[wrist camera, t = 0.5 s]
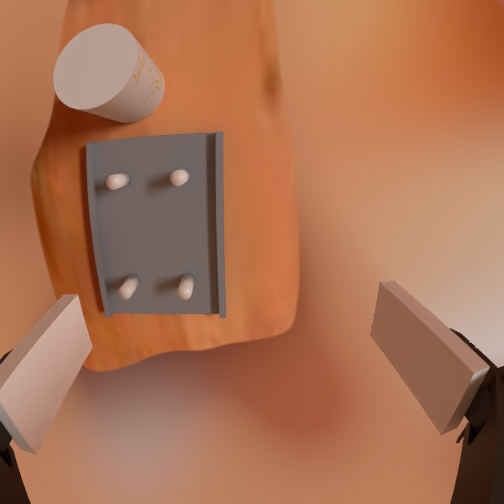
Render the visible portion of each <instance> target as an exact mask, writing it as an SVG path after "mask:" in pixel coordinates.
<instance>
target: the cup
mask: <svg viewBox="0 0 504 504" xmlns="http://www.w3.org/2000/svg"><path fill="white" fill-rule="evenodd" d="M53 84H54V89H55V92H56V94H57V96H58V98H59V99H60V100H61V101H62V102H63V103H64V104H65V105H67V106H68V107H71V108H74V109H77V110H81V111H84V112H88V113H91V114H94V115H98V116H101V117H104V118H108V119H111V120H114V121H117V122H120V123H135V122H138V121H141V120H143V119H145V118H146V117H148V116H149V115H151V114H152V113H153V112H154V111H155V110H156V108H157V107H158V106H159V104H160V102H161V100H162V98H163V95H164V90H165V83H164V78H163V76H162V74H161V72H160V70H159V69H158V68H157V67H156V65H155V64H154V63H153V61H152V60H151V59H150V57H149V56H148V55H147V53H146V52H145V51H144V49H143V48H142V47H141V45H140V44H139V43H138V42H137V40H136V39H135V38H134V36H133V35H132V34H131V33H130V32H129V31H128V30H127V29H126V28H124V27H122V26H120V25H116V24H100V25H96V26H93V27H90V28H88V29H86V30H84V31H82V32H81V33H79V34H78V35H77V36H75V37H74V38H73V39H72V40H71V41H70V42H69V43H68V44H67V45H66V47H65V48H64V49H63V51H62V52H61V54H60V56H59V58H58V60H57V62H56V65H55V69H54V75H53Z"/></svg>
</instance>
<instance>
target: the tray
mask: <svg viewBox="0 0 504 504" xmlns="http://www.w3.org/2000/svg"><path fill="white" fill-rule="evenodd" d="M86 164H87V187H88V202H89V213H90V224H91V233H92V241H93V249H94V256H95V263H96V269H97V275H98V281H99V286H100V292H101V297H102V302H103V307H104V312H105V316H106V317H111V316H112V315H113V313H136V314H219V315H220V318H226V297H225V261H224V202H223V132H216V133H195V134H175V135H160V136H148V137H137V138H127V139H118V140H110V141H102V142H88V143H86Z"/></svg>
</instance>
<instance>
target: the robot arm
mask: <svg viewBox="0 0 504 504" xmlns="http://www.w3.org/2000/svg"><path fill="white" fill-rule="evenodd" d="M371 337H372V338H373V339H374V341H375V342H376V343H377V345H378V346H379V347H380V349H381V350H382V352H383V353H384V354H385V356H386V357H387V358H388V360H389V361H390V362H391V364H392V365H393V366H394V368H395V369H396V370H397V372H398V373H399V375H400V376H401V378H402V379H403V380H404V382H405V383H406V385H407V386H408V387H409V389H410V390H411V392H412V393H413V395H414V396H415V397H416V399H417V400H418V402H419V403H420V405H421V406H422V407H423V409H424V410H425V412H426V413H427V415H428V416H429V418H430V419H431V421H432V422H433V423H434V425H435V426H436V428H437V429H438V431H439V432H440V434H441V435H442V434H444V433H447V432H449V431H451V430H453V429H456V428H457V427H458V426H459V424H460V422H461V421H462V419H463V417H464V416H465V417H466V418H467V420H468V421H469V422H468V423H467V425H466V427H465V428H464V430H463V431H462V433H461V434H460V436H459V437H458V439H457V442H456V443H459V442H460V440H461V439H462V437H464V440H463V447H462V453H461V459H460V464H459V469H458V474H457V478H456V483H455V487H454V492H453V495H452V499H451V503H450V504H504V366H502V367H499V368H497V366H495V365H494V364H493V363H492V362H491V361H490V360H489V359H488V358H487V357H486V356H485V355H484V354H483V353H482V352H481V351H479V349H478V348H476V347H475V346H474V345H473V344H472V343H469V340H468V339H467V338H465V337H464V336H463V335H462V334H461V333H459V332H457V331H455V330H453V329H451V328H450V329H449V328H448V327H447V326H446V325H445V324H444V323H443V322H441V321H440V320H439V319H438V318H437V317H436V316H435V315H433V314H432V313H431V312H430V311H429V310H428V309H427V308H425V307H424V306H423V305H422V304H421V303H420V302H419V301H417V300H416V299H415V298H414V297H413V296H411V295H410V294H409V293H408V292H407V291H406V290H404V289H403V288H402V287H401V286H399V285H398V284H397V283H396V282H395V281H389V282H380V284H379V291H378V297H377V303H376V309H375V314H374V319H373V324H372V329H371ZM91 349H92V344H91V341H90V337H89V334H88V331H87V327H86V324H85V320H84V317H83V313H82V309H81V305H80V301H79V297H78V295H75V294H64V295H63V296H62V297H61V298H60V299H59V300H58V301H57V302H56V303H55V304H54V305H53V306H52V307H51V308H50V309H49V310H48V311H47V312H46V314H45V315H44V316H43V317H42V318H41V319H40V320H39V321H38V322H37V323H36V324H35V325H34V326H33V327H32V329H31V330H30V331H29V332H28V333H27V334H26V335H25V336H24V337H23V339H22V340H21V341H20V342H19V343H18V344H17V346H16V347H15V348H14V349H12V350H11V351H9V352H8V353H6V354H5V355H4V356H3V357H2V358H1V360H0V504H31V503H30V500H29V498H28V495H27V492H26V490H25V487H24V484H23V481H22V478H21V475H20V472H19V468H18V465H17V462H16V458H15V455H14V451H13V449H12V447H11V446H10V445H9V444H10V442H11V440H12V438H13V440H14V441H15V442H16V444H17V445H18V446H19V448H21V449H22V450H25V451H27V452H30V453H33V454H36V455H37V453H38V451H39V449H40V447H41V445H42V442H43V440H44V438H45V436H46V434H47V432H48V430H49V428H50V425H51V424H52V421H53V419H54V417H55V415H56V413H57V411H58V409H59V407H60V405H61V403H62V401H63V400H64V398H65V396H66V394H67V392H68V390H69V388H70V386H71V385H72V383H73V381H74V379H75V377H76V375H77V374H78V372H79V370H80V368H81V366H82V365H83V363H84V361H85V359H86V358H87V356H88V354H89V352H90V351H91Z"/></svg>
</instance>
